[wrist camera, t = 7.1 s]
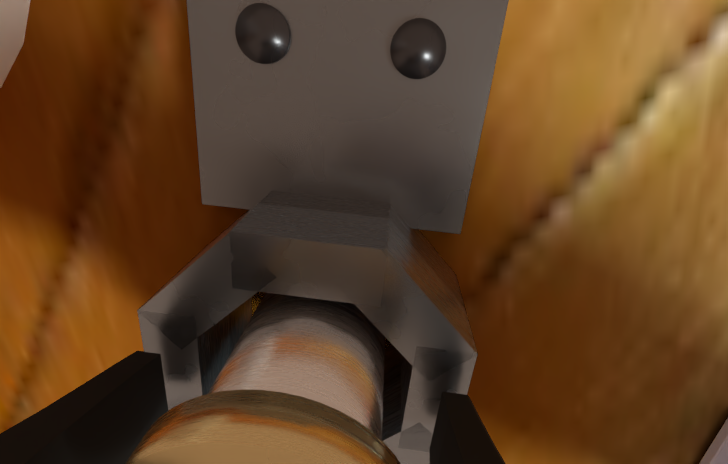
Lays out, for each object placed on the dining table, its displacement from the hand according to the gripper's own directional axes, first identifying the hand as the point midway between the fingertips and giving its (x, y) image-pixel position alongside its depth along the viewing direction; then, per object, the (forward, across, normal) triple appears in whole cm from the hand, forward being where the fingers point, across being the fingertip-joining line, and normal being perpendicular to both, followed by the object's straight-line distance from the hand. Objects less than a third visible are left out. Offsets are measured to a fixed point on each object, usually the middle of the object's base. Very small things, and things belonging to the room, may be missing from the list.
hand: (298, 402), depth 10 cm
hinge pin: (+4, 0, 0) cm, 5 cm away
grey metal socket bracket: (+4, 0, 0) cm, 4 cm away
